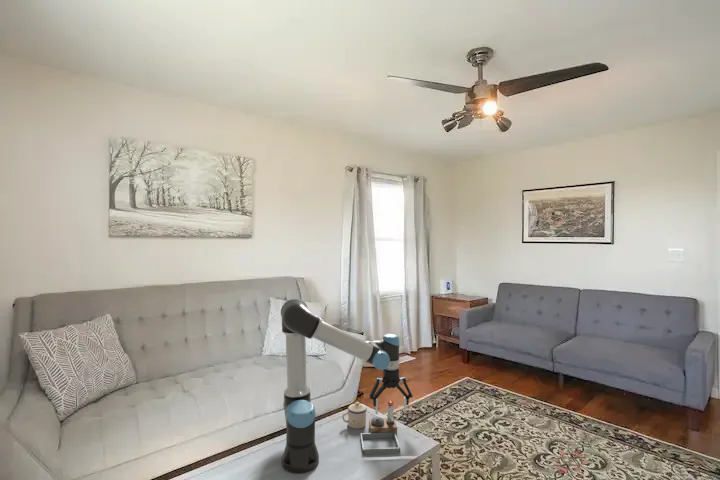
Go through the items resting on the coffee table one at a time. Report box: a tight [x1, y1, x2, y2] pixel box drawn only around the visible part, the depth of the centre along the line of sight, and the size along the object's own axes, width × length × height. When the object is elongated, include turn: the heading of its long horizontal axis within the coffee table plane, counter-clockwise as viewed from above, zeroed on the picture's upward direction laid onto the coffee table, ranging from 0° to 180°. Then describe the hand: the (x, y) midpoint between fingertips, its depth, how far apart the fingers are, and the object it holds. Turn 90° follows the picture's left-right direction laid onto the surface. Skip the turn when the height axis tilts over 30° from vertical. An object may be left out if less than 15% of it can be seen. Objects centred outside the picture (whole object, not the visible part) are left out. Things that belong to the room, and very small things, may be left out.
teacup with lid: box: [341, 401, 367, 429], centre depth 191 cm, size 12×9×12 cm
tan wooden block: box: [368, 416, 398, 437], centre depth 185 cm, size 12×9×7 cm
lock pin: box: [387, 400, 394, 425], centre depth 185 cm, size 3×3×14 cm
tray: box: [359, 432, 401, 455], centre depth 173 cm, size 16×13×3 cm
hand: (390, 412), depth 185 cm, fingers open, 13 cm apart
